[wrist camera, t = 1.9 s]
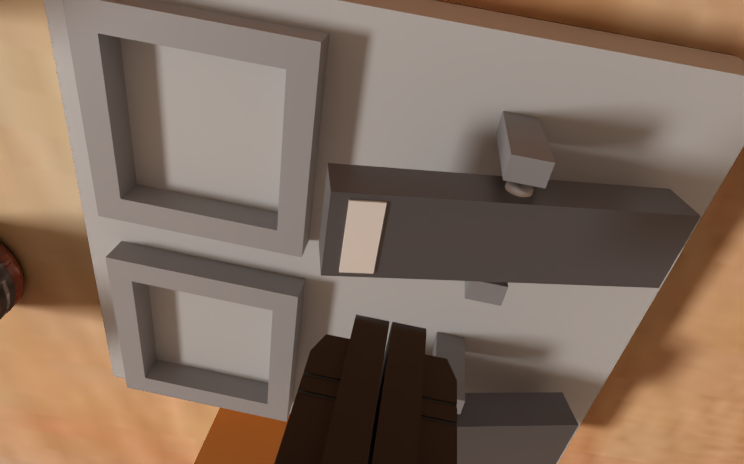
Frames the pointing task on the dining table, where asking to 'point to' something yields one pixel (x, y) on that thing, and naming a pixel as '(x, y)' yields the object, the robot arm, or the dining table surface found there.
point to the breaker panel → (357, 147)
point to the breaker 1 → (497, 228)
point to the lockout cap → (242, 439)
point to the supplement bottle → (9, 281)
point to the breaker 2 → (514, 428)
